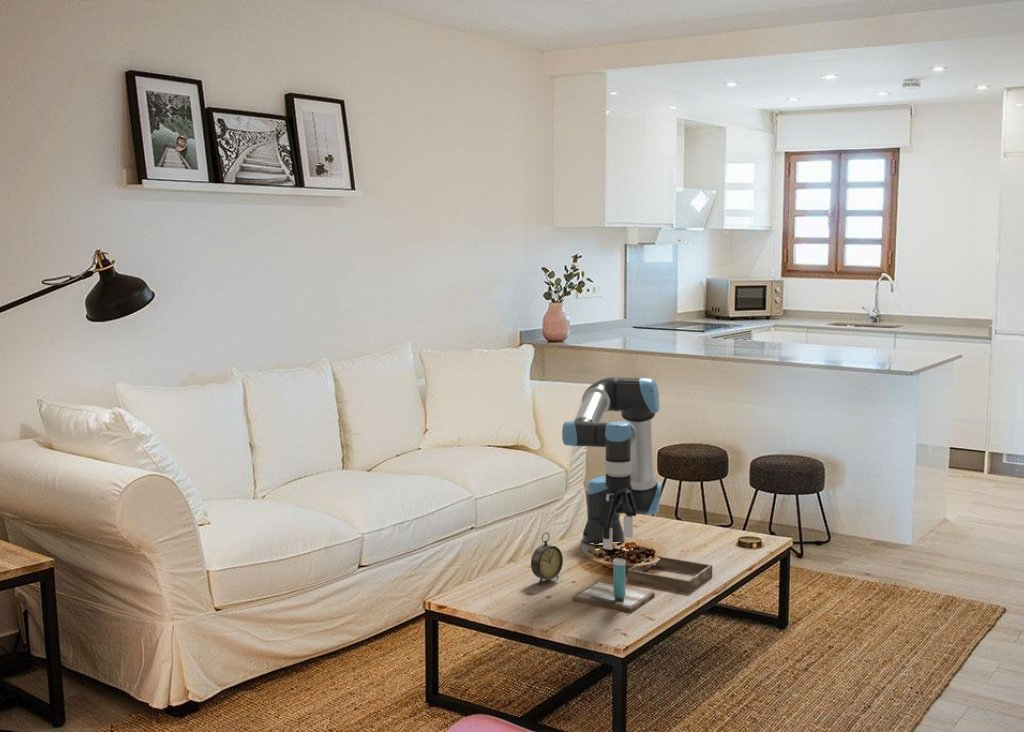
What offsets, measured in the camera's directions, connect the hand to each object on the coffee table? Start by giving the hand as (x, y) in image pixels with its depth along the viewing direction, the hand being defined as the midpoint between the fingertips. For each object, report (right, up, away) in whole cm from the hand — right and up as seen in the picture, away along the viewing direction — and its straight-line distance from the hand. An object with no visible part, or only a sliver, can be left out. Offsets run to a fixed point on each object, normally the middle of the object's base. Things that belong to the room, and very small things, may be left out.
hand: (618, 542), depth 313 cm
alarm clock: (-21, -16, +23) cm, 35 cm away
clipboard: (-1, -18, +6) cm, 19 cm away
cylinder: (0, -18, +1) cm, 17 cm away
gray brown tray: (+19, -16, +24) cm, 35 cm away
